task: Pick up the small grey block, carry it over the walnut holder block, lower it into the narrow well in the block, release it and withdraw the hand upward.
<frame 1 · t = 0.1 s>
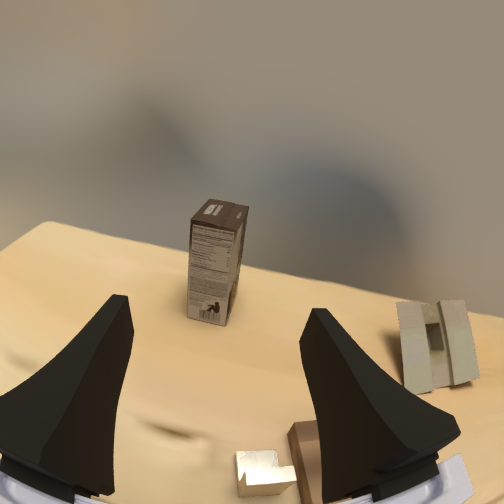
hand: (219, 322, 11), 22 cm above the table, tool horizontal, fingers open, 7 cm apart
wall: (427, 364, 38), on the table
well block: (353, 484, 20), on the table
grey block: (256, 475, 21), on the table
coffee box: (212, 306, 45), on the table
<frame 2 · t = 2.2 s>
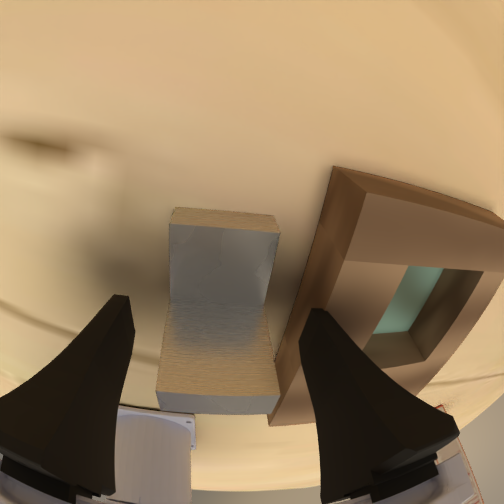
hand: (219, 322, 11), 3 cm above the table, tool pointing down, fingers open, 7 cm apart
well block: (382, 314, 16), on the table
grey block: (219, 262, 13), on the table
cracker box: (410, 426, 33), on the table
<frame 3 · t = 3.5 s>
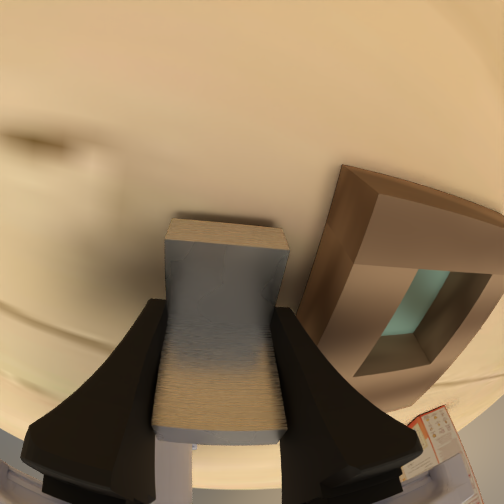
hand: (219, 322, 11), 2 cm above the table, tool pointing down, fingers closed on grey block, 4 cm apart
well block: (388, 316, 15), on the table
grey block: (221, 278, 11), point 1 cm above the table, touching gripper
cracker box: (411, 427, 33), on the table
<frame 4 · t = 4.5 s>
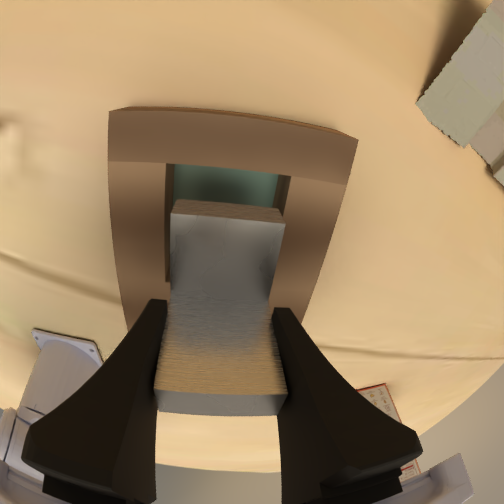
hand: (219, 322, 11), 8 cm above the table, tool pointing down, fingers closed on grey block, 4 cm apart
wall: (492, 96, 13), on the table
well block: (218, 238, 18), on the table
grey block: (221, 258, 12), point 6 cm above the table, touching gripper
cracker box: (354, 407, 36), on the table
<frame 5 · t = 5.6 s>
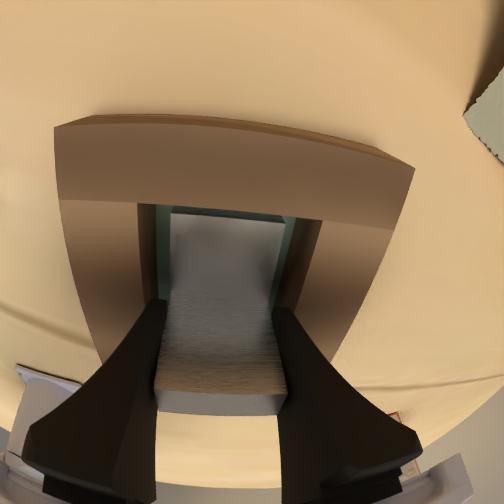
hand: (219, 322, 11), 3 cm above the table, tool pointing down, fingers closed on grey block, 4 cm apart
well block: (217, 286, 14), on the table
grey block: (221, 257, 12), point 1 cm above the table, touching gripper
cracker box: (362, 434, 32), on the table
when the fingers open (3 cm above the table, at t = 6.1 s): grey block stays where it is, resting on well block.
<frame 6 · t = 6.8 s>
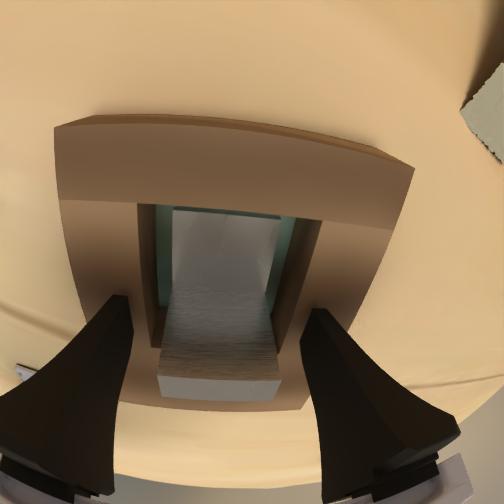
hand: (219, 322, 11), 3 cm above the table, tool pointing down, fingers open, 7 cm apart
well block: (217, 286, 14), on the table
grey block: (221, 251, 13), resting on well block
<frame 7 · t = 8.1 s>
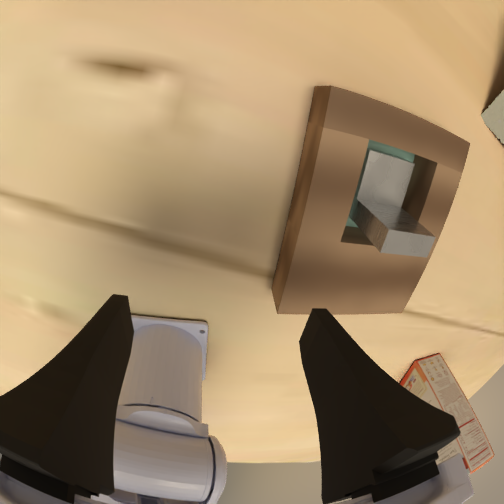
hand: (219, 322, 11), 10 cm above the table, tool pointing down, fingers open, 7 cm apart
well block: (365, 209, 20), on the table
grey block: (374, 183, 19), resting on well block
cracker box: (410, 379, 38), on the table
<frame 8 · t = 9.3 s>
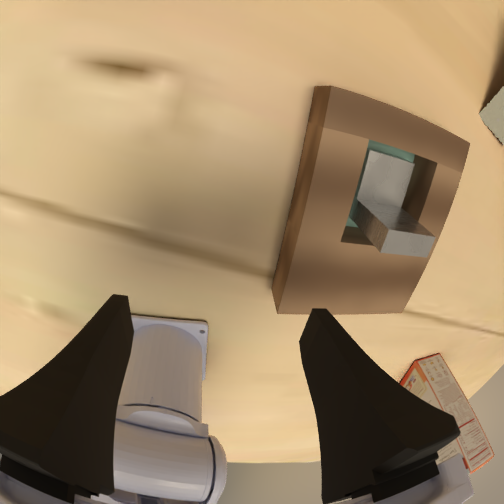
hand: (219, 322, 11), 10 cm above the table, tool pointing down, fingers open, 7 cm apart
well block: (365, 209, 20), on the table
grey block: (374, 183, 19), resting on well block
cracker box: (410, 379, 38), on the table
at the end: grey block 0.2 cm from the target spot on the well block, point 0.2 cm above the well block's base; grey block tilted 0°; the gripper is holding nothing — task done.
